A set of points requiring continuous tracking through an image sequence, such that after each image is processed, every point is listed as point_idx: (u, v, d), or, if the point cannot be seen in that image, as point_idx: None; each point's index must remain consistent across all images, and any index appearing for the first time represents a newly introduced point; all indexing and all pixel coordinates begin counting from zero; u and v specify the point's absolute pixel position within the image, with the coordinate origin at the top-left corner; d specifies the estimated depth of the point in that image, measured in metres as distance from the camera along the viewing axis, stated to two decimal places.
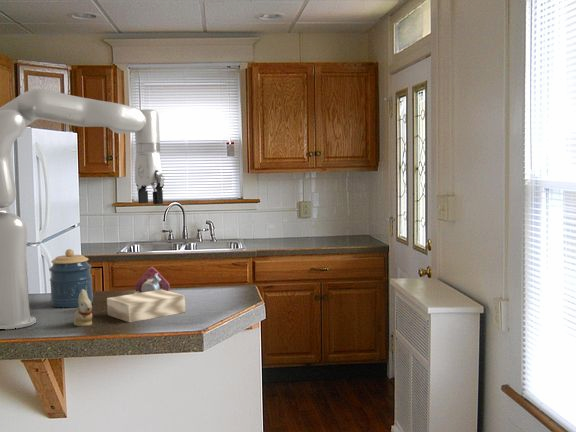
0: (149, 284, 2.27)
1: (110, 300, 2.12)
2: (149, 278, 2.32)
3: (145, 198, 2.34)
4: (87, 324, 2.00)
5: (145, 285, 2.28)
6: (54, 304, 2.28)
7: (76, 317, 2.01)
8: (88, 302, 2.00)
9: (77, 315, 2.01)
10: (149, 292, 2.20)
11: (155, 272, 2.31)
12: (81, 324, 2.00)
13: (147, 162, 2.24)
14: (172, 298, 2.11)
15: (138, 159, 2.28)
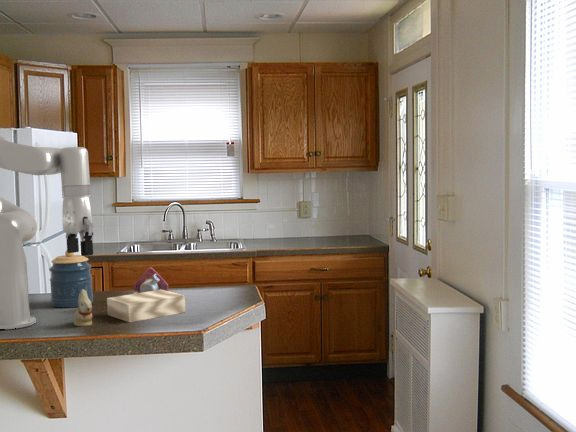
0: (147, 284, 2.27)
1: (110, 300, 2.12)
2: (148, 278, 2.31)
3: (75, 247, 2.05)
4: (87, 324, 2.00)
5: (143, 285, 2.27)
6: (54, 304, 2.28)
7: (76, 317, 2.01)
8: (88, 302, 2.00)
9: (77, 315, 2.01)
10: (149, 292, 2.20)
11: (154, 272, 2.31)
12: (81, 324, 2.00)
13: (74, 208, 1.96)
14: (172, 298, 2.11)
15: (65, 204, 2.00)
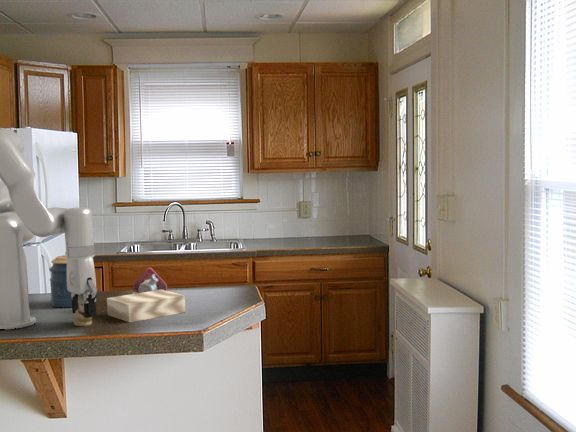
0: (145, 284, 2.27)
1: (110, 300, 2.12)
2: (147, 279, 2.31)
3: None
4: (87, 324, 2.01)
5: (142, 286, 2.27)
6: (54, 304, 2.28)
7: (76, 317, 2.02)
8: None
9: (77, 315, 2.01)
10: (149, 292, 2.20)
11: (153, 273, 2.30)
12: (81, 324, 2.01)
13: (78, 269, 1.97)
14: (172, 298, 2.11)
15: (69, 264, 2.01)
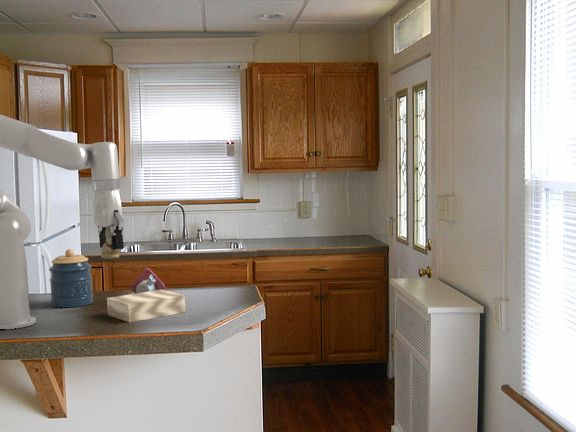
0: (143, 285, 2.26)
1: (110, 300, 2.12)
2: (145, 279, 2.30)
3: None
4: (114, 256, 2.04)
5: (139, 286, 2.26)
6: (54, 304, 2.28)
7: (103, 250, 2.05)
8: None
9: (104, 248, 2.05)
10: (149, 292, 2.20)
11: (151, 273, 2.30)
12: (108, 256, 2.04)
13: (105, 202, 2.01)
14: (172, 298, 2.11)
15: (95, 198, 2.05)
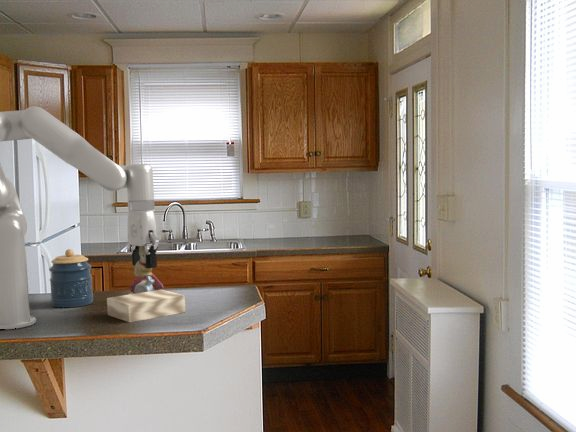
0: (141, 285, 2.25)
1: (110, 300, 2.12)
2: (143, 279, 2.30)
3: None
4: (148, 274, 2.11)
5: (138, 286, 2.26)
6: (54, 304, 2.28)
7: (137, 268, 2.12)
8: None
9: (138, 266, 2.11)
10: (149, 292, 2.20)
11: None
12: (142, 274, 2.11)
13: (141, 222, 2.07)
14: (172, 298, 2.11)
15: (130, 218, 2.11)
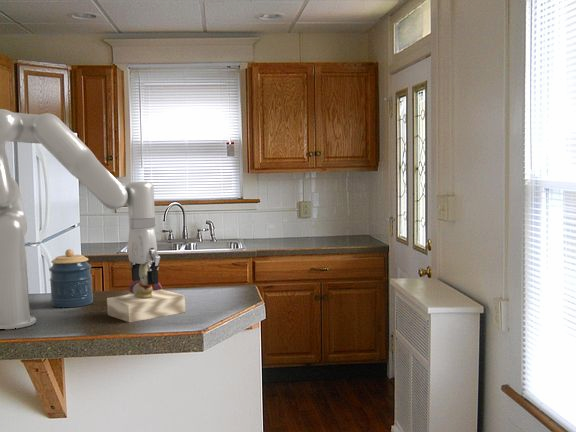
0: None
1: (110, 300, 2.12)
2: None
3: None
4: (148, 296, 2.11)
5: None
6: (54, 304, 2.28)
7: (137, 290, 2.12)
8: None
9: (138, 288, 2.11)
10: None
11: None
12: (142, 296, 2.11)
13: (141, 240, 2.08)
14: (172, 298, 2.11)
15: (131, 235, 2.12)
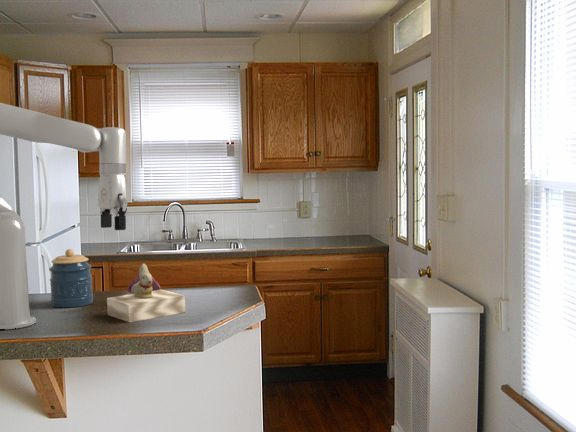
0: None
1: (110, 300, 2.12)
2: None
3: (108, 222, 2.17)
4: (148, 296, 2.11)
5: (134, 287, 2.25)
6: (54, 304, 2.28)
7: (137, 290, 2.12)
8: (149, 275, 2.11)
9: (138, 288, 2.11)
10: None
11: None
12: (142, 296, 2.11)
13: (110, 184, 2.07)
14: (172, 298, 2.11)
15: (101, 181, 2.12)
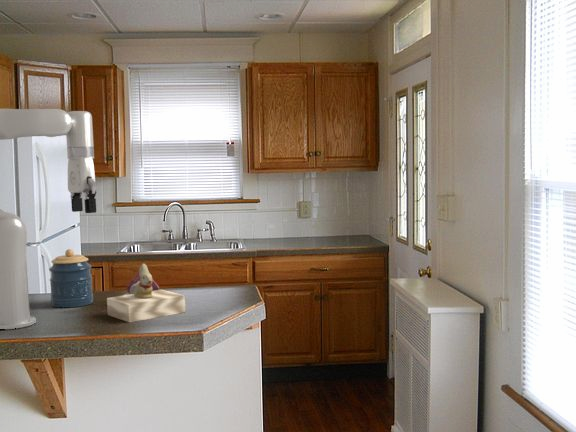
0: None
1: (110, 300, 2.12)
2: None
3: (79, 206, 2.18)
4: (148, 296, 2.11)
5: (133, 287, 2.25)
6: (54, 304, 2.28)
7: (137, 290, 2.12)
8: (149, 275, 2.11)
9: (138, 288, 2.11)
10: None
11: None
12: (142, 296, 2.11)
13: (79, 168, 2.08)
14: (172, 298, 2.11)
15: (70, 165, 2.13)
